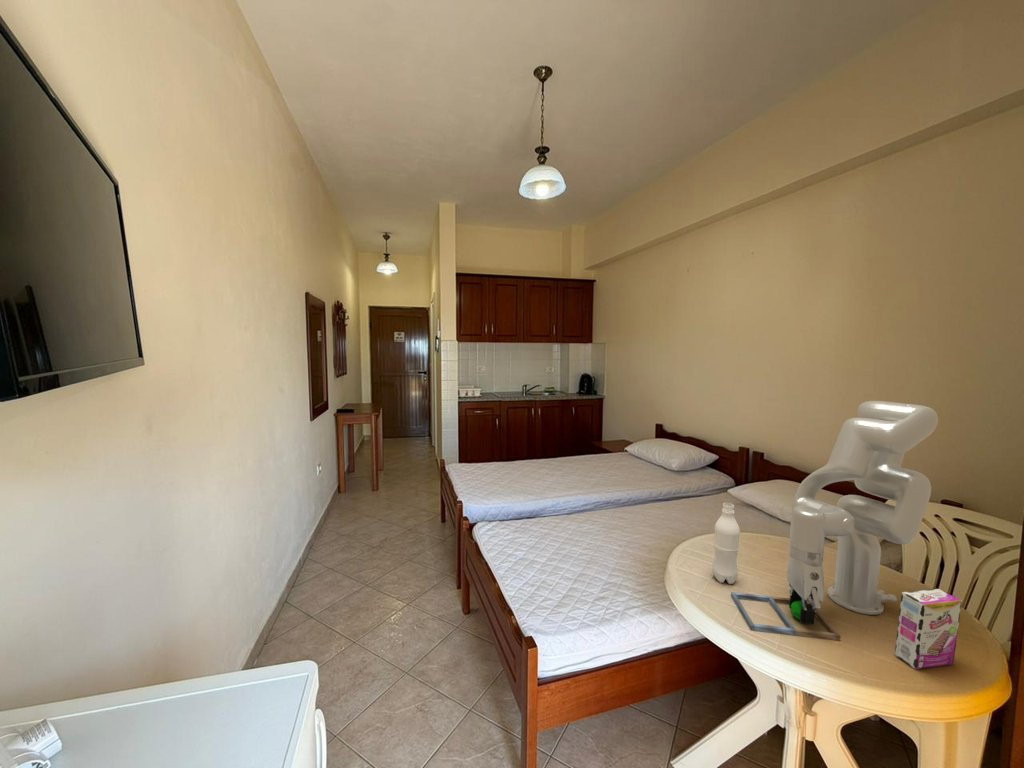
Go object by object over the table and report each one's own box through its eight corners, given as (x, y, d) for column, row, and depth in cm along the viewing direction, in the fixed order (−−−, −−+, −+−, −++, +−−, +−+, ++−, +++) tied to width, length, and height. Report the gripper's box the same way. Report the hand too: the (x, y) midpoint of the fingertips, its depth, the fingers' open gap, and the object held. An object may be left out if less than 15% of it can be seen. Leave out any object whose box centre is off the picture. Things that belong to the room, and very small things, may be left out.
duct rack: (808, 604, 118) (809, 600, 117) (840, 640, 103) (840, 636, 103) (730, 595, 121) (731, 592, 121) (750, 629, 107) (750, 625, 107)
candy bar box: (917, 671, 93) (923, 604, 92) (893, 655, 98) (899, 591, 97) (956, 665, 95) (963, 599, 93) (931, 650, 100) (937, 587, 98)
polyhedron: (791, 610, 115) (792, 594, 114) (812, 618, 112) (813, 601, 111) (789, 619, 111) (790, 603, 110) (811, 627, 108) (812, 610, 107)
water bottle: (735, 588, 125) (739, 510, 123) (709, 580, 129) (713, 505, 127) (738, 578, 131) (743, 503, 129) (714, 571, 135) (718, 498, 133)
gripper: (840, 571, 101) (835, 639, 102) (804, 539, 117) (800, 599, 119) (807, 568, 102) (802, 635, 103) (776, 537, 119) (772, 596, 120)
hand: (801, 615), depth 111 cm, fingers closed on polyhedron, 5 cm apart
